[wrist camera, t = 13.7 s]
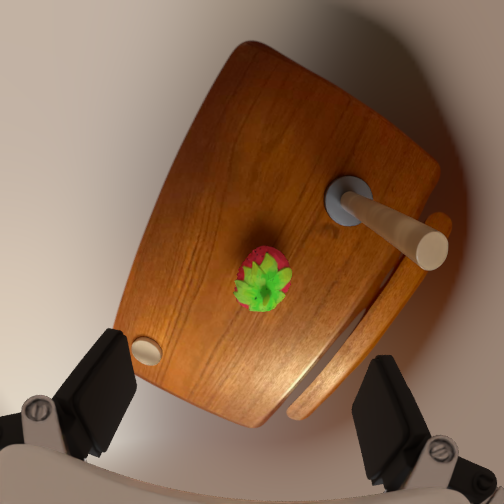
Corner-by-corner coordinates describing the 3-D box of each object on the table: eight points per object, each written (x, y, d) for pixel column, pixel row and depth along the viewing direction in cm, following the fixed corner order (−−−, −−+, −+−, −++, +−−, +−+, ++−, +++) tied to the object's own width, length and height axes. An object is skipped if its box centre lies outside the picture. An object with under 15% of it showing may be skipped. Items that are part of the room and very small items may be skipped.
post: (326, 172, 32) (399, 191, 13) (373, 179, 32) (477, 209, 13) (320, 221, 34) (378, 296, 15) (366, 227, 34) (454, 299, 15)
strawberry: (300, 252, 36) (311, 286, 26) (266, 297, 38) (265, 341, 28) (261, 226, 35) (259, 252, 25) (228, 273, 37) (215, 313, 28)
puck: (131, 334, 41) (129, 337, 40) (161, 339, 41) (159, 343, 40) (135, 358, 43) (133, 362, 42) (163, 364, 43) (161, 368, 42)
